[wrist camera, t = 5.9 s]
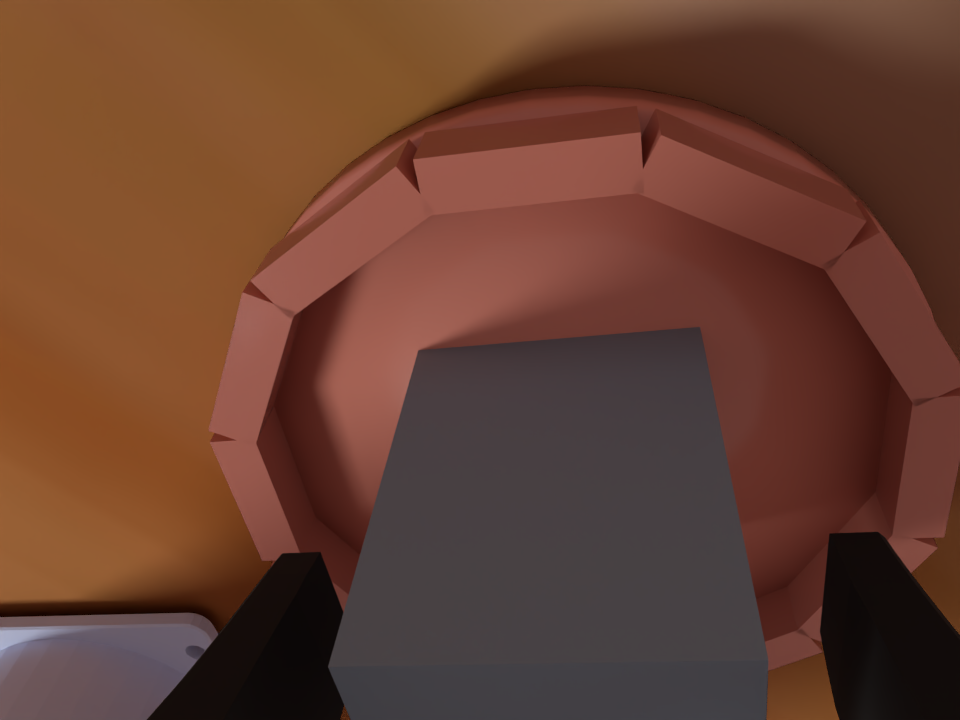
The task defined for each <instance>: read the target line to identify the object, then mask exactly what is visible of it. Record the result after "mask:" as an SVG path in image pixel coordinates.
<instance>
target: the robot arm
mask: <svg viewBox="0 0 960 720" xmlns="http://www.w3.org/2000/svg"><path fill="white" fill-rule="evenodd" d="M343 613H344V612H343V610H342V607H341V604H340V602H339V599H338V596H337V594H336V591H335V589H334V586H333V583H332V581H331V578H330V575H329V573H328V570H327V568H326V565H325V562H324V560H323V557H322V554H321V552H304V553H282V554H281V555H280V556H279V558H278V559H277V560H276V561H275V562H274V564H273V565H272V566H271V568H270V569H269V570H268V571H267V573H266V574H265V575H264V576H263V578H262V579H261V580H260V582H259V583H258V584H257V585H256V587H255V588H254V589H253V591H252V592H251V593H250V595H249V596H248V597H247V598H246V600H245V601H244V602H243V604H242V605H241V606H240V607H239V609H238V610H237V611H236V613H235V614H234V615H233V616H232V618H231V619H230V620H229V622H228V623H227V624H226V625H225V627H224V628H223V629H222V630H221V632H220V633H219V634H218V633H217V631H216V629H215V627H214V626H213V624H212V623H211V622H210V621H209V620H208V619H207V618H205V617H204V616H202V615H199V614H196V613H152V614H110V615H68V616H26V617H0V720H340V718H341V714H342V710H343V707H344V703H343V701H342V698H341V696H340V694H339V691H338V689H337V687H336V684H335V682H334V680H333V677H332V675H331V673H330V670H329V668H328V665H329V662H330V658H331V655H332V651H333V648H334V644H335V641H336V637H337V634H338V630H339V627H340V623H341V620H342V616H343ZM820 635H821V640H822V645H823V650H824V655H825V660H826V665H827V670H828V675H829V679H830V684H831V689H832V693H833V698H834V702H835V707H836V710H837V713H838V716H839V719H840V720H960V635H959V634H958V632H957V631H956V630H955V629H954V627H953V626H952V625H951V624H950V623H949V621H948V620H947V619H946V618H945V616H944V615H943V614H942V613H941V611H940V610H939V609H938V608H937V606H936V605H935V604H934V602H933V601H932V600H931V599H930V597H929V596H928V595H927V594H926V592H925V591H924V590H923V588H922V587H921V586H920V584H919V583H918V582H917V581H916V579H915V578H914V577H913V575H912V574H911V573H910V571H909V570H908V569H907V567H906V566H905V564H904V563H903V562H902V560H901V559H900V558H899V556H898V555H897V553H896V552H895V551H894V549H893V548H892V546H891V545H890V544H889V542H888V541H887V539H886V538H885V537H884V536H883V535H881V534H880V533H879V532H855V533H829V542H828V552H827V563H826V573H825V583H824V594H823V604H822V614H821V625H820Z"/></svg>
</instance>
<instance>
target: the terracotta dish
mask: <svg viewBox="0 0 960 720" xmlns="http://www.w3.org/2000/svg"><path fill="white" fill-rule="evenodd" d="M692 327H700V329H701V334H702V339H703V343H704V348H705V353H706V358H707V363H708V368H709V373H710V378H711V382H712V387H713V392H714V397H715V402H716V407H717V412H718V417H719V421H720V426H721V431H722V436H723V441H724V446H725V451H726V455H727V460H728V465H729V470H730V475H731V480H732V485H733V490H734V494H735V499H736V504H737V509H738V514H739V519H740V524H741V529H742V533H743V538H744V543H745V548H746V553H747V558H748V563H749V568H750V572H751V577H752V582H753V587H754V592H755V597H756V602H757V607H758V611H759V616H760V621H761V626H762V631H763V636H764V641H765V646H766V650H767V655H768V671H770V670H773V669H775V668H778V667H781V666H784V665H787V664H790V663H793V662H796V661H799V660H802V659H804V658H807V657H810V656H813V655H816V654H819V653H822V652H823V651H822V647H821V644H820V641H821V642H822V640H821V635H820V625H821V614H822V604H823V594H824V583H825V573H826V563H827V552H828V542H829V533H855V532H879V533H880V534H881V535H883V536H884V537H885V538H886V539H887V541H888V542H889V544H890V545H891V546H892V548H893V549H894V551H895V552H896V553H897V555H898V556H899V558H900V559H901V560H902V562H903V563H904V564H905V566H906V567H907V569H908V570H909V571H910V573H912V572H913V571H914V570H915V569H916V568H917V567H918V566H919V565H920V564H921V563H922V562H923V561H924V560H926V559H927V558H928V557H929V556H930V555H931V554H932V553H933V552H934V551H935V550H936V549H937V548H938V547H937V545H936V543H935V540H934V538H938V537H945V532H946V527H947V522H948V517H949V512H950V507H951V502H952V497H953V492H954V488H955V483H956V478H957V473H958V468H959V463H960V363H959V361H958V359H957V358H956V356H955V354H954V353H953V351H952V349H951V348H950V346H949V344H948V343H947V341H946V340H945V338H944V336H943V335H942V333H941V331H940V330H939V328H938V326H937V325H936V323H935V321H934V318H933V315H932V311H931V309H930V307H929V305H928V303H927V300H926V298H925V296H924V294H923V292H922V290H921V288H920V286H919V284H918V282H917V280H916V278H915V276H914V274H913V272H912V270H911V269H910V267H909V265H908V264H907V262H906V261H905V259H904V258H903V256H902V255H901V253H900V251H899V250H898V248H897V247H896V245H895V244H894V242H893V241H892V239H891V238H890V236H889V235H888V234H887V232H886V231H885V230H884V228H883V227H882V225H881V224H880V223H879V221H878V220H877V219H876V217H875V216H874V214H873V213H872V212H871V210H870V209H869V208H868V206H867V205H866V203H865V202H864V201H863V200H862V199H861V198H860V197H859V196H858V195H857V194H855V193H854V192H853V191H852V190H851V189H850V188H849V187H848V186H847V185H846V184H845V183H844V182H843V181H842V180H841V179H840V178H839V177H838V176H837V175H836V174H835V173H834V172H833V171H832V170H831V169H829V168H828V167H827V166H825V165H824V164H823V163H821V162H820V161H818V160H817V159H816V158H814V157H813V156H811V155H810V154H809V153H807V152H806V151H804V150H803V149H802V148H800V147H799V146H797V145H796V144H795V143H793V142H792V141H790V140H788V139H786V138H784V137H782V136H780V135H778V134H776V133H774V132H772V131H771V130H769V129H767V128H765V127H763V126H761V125H759V124H757V123H755V122H753V121H751V120H749V119H747V118H745V117H742V116H739V115H737V114H734V113H731V112H728V111H725V110H722V109H719V108H716V107H713V106H711V105H708V104H705V103H702V102H699V101H696V100H692V99H687V98H682V97H677V96H672V95H667V94H662V93H657V92H652V91H647V90H642V89H630V88H615V87H600V86H572V87H556V88H541V89H529V90H524V91H519V92H514V93H509V94H504V95H499V96H494V97H489V98H484V99H479V100H476V101H473V102H470V103H467V104H464V105H461V106H458V107H455V108H453V109H450V110H447V111H444V112H441V113H438V114H435V115H432V116H429V117H427V118H425V119H423V120H421V121H419V122H417V123H415V124H413V125H411V126H410V127H408V128H406V129H404V130H402V131H400V132H398V133H396V134H394V135H392V136H390V137H388V138H386V139H384V140H383V141H381V142H380V143H379V144H377V145H376V146H374V147H373V148H371V149H370V150H368V151H367V152H366V153H364V154H363V155H361V156H360V157H358V158H357V159H356V160H354V161H353V162H351V163H350V164H348V165H347V166H346V167H345V168H344V169H343V170H342V171H341V172H340V173H339V174H338V175H336V176H335V177H334V178H333V179H332V180H331V181H330V182H329V183H328V184H327V185H326V186H325V187H324V188H323V189H322V190H321V191H319V192H318V193H317V194H316V195H315V196H314V198H313V199H312V200H311V202H310V203H309V204H308V205H307V207H306V208H305V209H304V211H303V212H302V213H301V215H300V216H299V217H298V218H297V220H296V221H295V222H294V224H293V225H292V226H291V227H290V229H289V230H288V232H287V233H286V235H285V237H284V238H283V239H282V240H281V241H280V242H279V243H277V244H276V245H275V246H274V247H272V248H271V249H270V251H269V252H268V254H267V255H266V257H265V259H264V260H263V262H262V263H261V265H260V266H259V268H258V269H257V271H256V272H255V274H254V275H253V277H252V278H251V280H250V282H249V283H248V285H247V286H246V288H245V289H244V291H243V292H242V296H241V300H240V304H239V308H238V312H237V317H236V321H235V325H234V329H233V333H232V337H231V341H230V345H229V349H228V353H227V357H226V361H225V366H224V370H223V374H222V378H221V382H220V386H219V390H218V394H217V398H216V402H215V406H214V410H213V415H212V419H211V423H210V427H209V431H211V432H214V433H215V434H214V436H213V437H212V439H211V441H210V444H211V446H212V448H213V450H214V453H215V455H216V457H217V460H218V462H219V464H220V466H221V469H222V471H223V473H224V475H225V478H226V480H227V482H228V485H229V487H230V489H231V491H232V494H233V496H234V498H235V500H236V503H237V505H238V507H239V510H240V512H241V514H242V516H243V519H244V521H245V523H246V525H247V528H248V530H249V532H250V534H251V537H252V539H253V541H254V544H255V546H256V548H257V550H258V553H259V555H260V557H261V559H262V561H273V562H272V564H271V566H272V565H273V564H274V562H275V561H276V560H277V559H278V558H279V556H280V555H281V554H282V553H304V552H321V554H322V557H323V560H324V562H325V565H326V568H327V570H328V573H329V575H330V578H331V581H332V583H333V586H334V589H335V591H336V594H337V596H338V599H339V602H340V604H341V607H342V610H343V612H344V609H345V606H346V602H347V599H348V595H349V592H350V588H351V585H352V581H353V578H354V574H355V571H356V567H357V564H358V560H359V557H360V553H361V550H362V546H363V543H364V539H365V536H366V532H367V529H368V525H369V522H370V518H371V515H372V511H373V508H374V504H375V501H376V497H377V494H378V490H379V486H380V483H381V479H382V476H383V472H384V469H385V465H386V462H387V458H388V455H389V451H390V448H391V444H392V441H393V437H394V434H395V430H396V427H397V423H398V420H399V416H400V413H401V409H402V406H403V402H404V399H405V395H406V392H407V388H408V385H409V381H410V378H411V374H412V371H413V367H414V364H415V360H416V357H417V353H418V350H427V349H439V348H451V347H463V346H475V345H487V344H499V343H511V342H523V341H535V340H547V339H560V338H572V337H584V336H596V335H608V334H620V333H632V332H644V331H656V330H668V329H680V328H692ZM270 568H271V567H270Z"/></svg>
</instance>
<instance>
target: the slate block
mask: <svg viewBox="0 0 960 720" xmlns="http://www.w3.org/2000/svg"><path fill="white" fill-rule="evenodd" d="M328 668H329V670H330V673H331V675H332V677H333V680H334V682H335V684H336V687H337V689H338V691H339V694H340V696H341V698H342V701H343V703H344V705H345V708H346V710H347V712H348V715H349V717H350V719H351V720H766V714H767V687H768V655H767V650H766V646H765V641H764V636H763V631H762V626H761V621H760V616H759V611H758V607H757V602H756V597H755V592H754V587H753V582H752V577H751V572H750V568H749V563H748V558H747V553H746V548H745V543H744V538H743V533H742V529H741V524H740V519H739V514H738V509H737V504H736V499H735V494H734V490H733V485H732V480H731V475H730V470H729V465H728V460H727V455H726V451H725V446H724V441H723V436H722V431H721V426H720V421H719V417H718V412H717V407H716V402H715V397H714V392H713V387H712V382H711V378H710V373H709V368H708V363H707V358H706V353H705V348H704V343H703V339H702V334H701V329H700V327H692V328H680V329H668V330H656V331H644V332H632V333H620V334H608V335H596V336H584V337H572V338H560V339H547V340H535V341H523V342H511V343H499V344H487V345H475V346H463V347H451V348H439V349H427V350H418V353H417V357H416V360H415V364H414V367H413V371H412V374H411V378H410V381H409V385H408V388H407V392H406V395H405V399H404V402H403V406H402V409H401V413H400V416H399V420H398V423H397V427H396V430H395V434H394V437H393V441H392V444H391V448H390V451H389V455H388V458H387V462H386V465H385V469H384V472H383V476H382V479H381V483H380V486H379V490H378V494H377V497H376V501H375V504H374V508H373V511H372V515H371V518H370V522H369V525H368V529H367V532H366V536H365V539H364V543H363V546H362V550H361V553H360V557H359V560H358V564H357V567H356V571H355V574H354V578H353V581H352V585H351V588H350V592H349V595H348V599H347V602H346V606H345V609H344V613H343V616H342V620H341V623H340V627H339V630H338V634H337V637H336V641H335V644H334V648H333V651H332V655H331V658H330V662H329V665H328Z"/></svg>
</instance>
